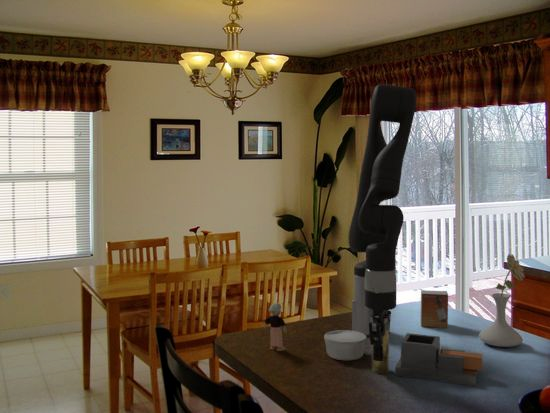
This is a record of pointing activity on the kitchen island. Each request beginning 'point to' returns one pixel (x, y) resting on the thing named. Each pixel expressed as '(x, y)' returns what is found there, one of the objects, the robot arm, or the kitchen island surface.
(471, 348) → the kitchen island surface
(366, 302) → the robot arm
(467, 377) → the dock
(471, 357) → the lock pin
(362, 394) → the kitchen island surface
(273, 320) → the grandmother figurine
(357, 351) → the ramekin
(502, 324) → the flower in vase
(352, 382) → the kitchen island surface
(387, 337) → the brass peg
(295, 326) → the kitchen island surface
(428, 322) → the small box
